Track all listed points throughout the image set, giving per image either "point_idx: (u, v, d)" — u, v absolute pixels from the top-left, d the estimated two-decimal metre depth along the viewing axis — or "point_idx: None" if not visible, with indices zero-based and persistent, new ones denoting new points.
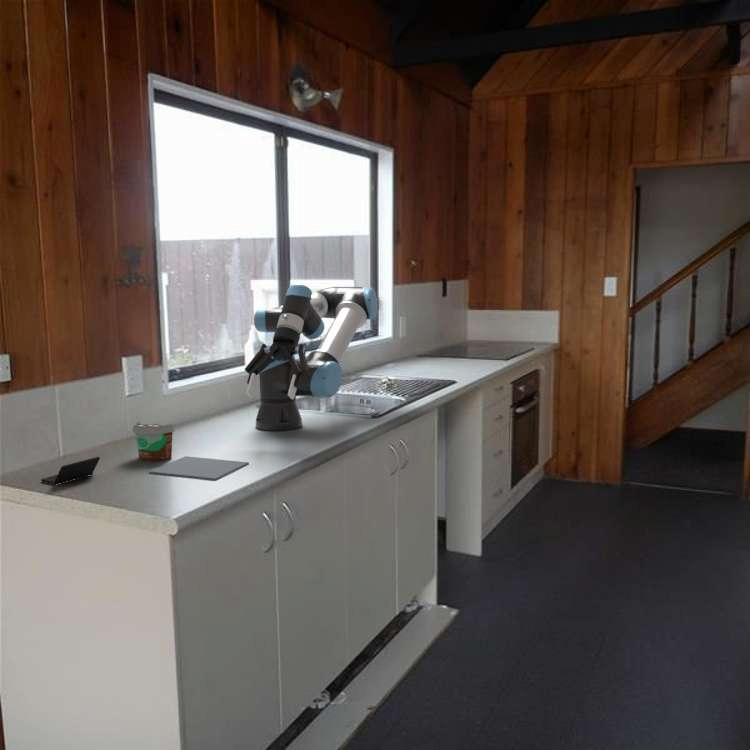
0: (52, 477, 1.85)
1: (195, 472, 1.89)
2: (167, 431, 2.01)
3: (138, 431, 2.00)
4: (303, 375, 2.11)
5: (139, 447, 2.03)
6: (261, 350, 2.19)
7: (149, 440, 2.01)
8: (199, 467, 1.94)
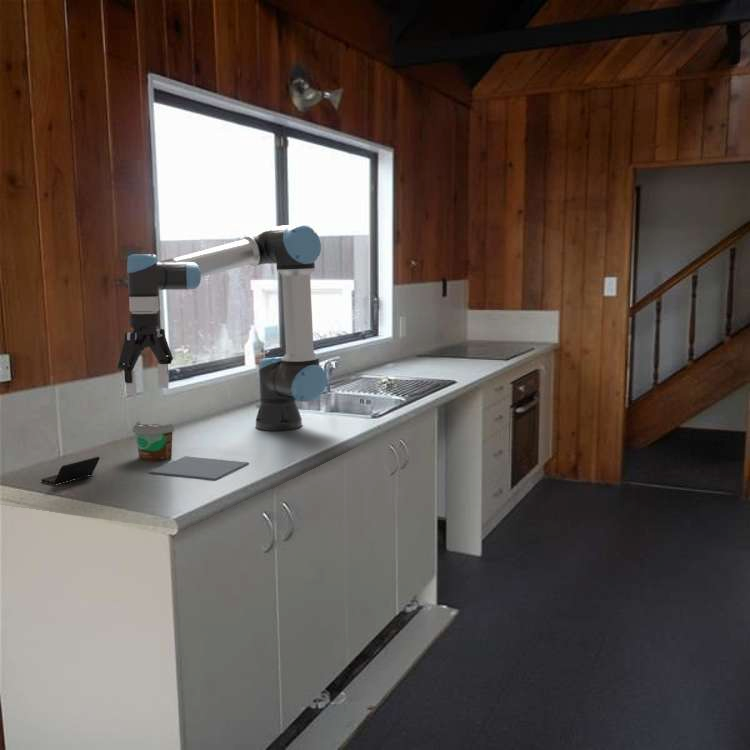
0: (52, 477, 1.85)
1: (195, 472, 1.89)
2: (167, 431, 2.01)
3: (138, 431, 2.00)
4: (124, 369, 1.92)
5: (139, 447, 2.03)
6: None
7: (149, 440, 2.01)
8: (199, 467, 1.94)
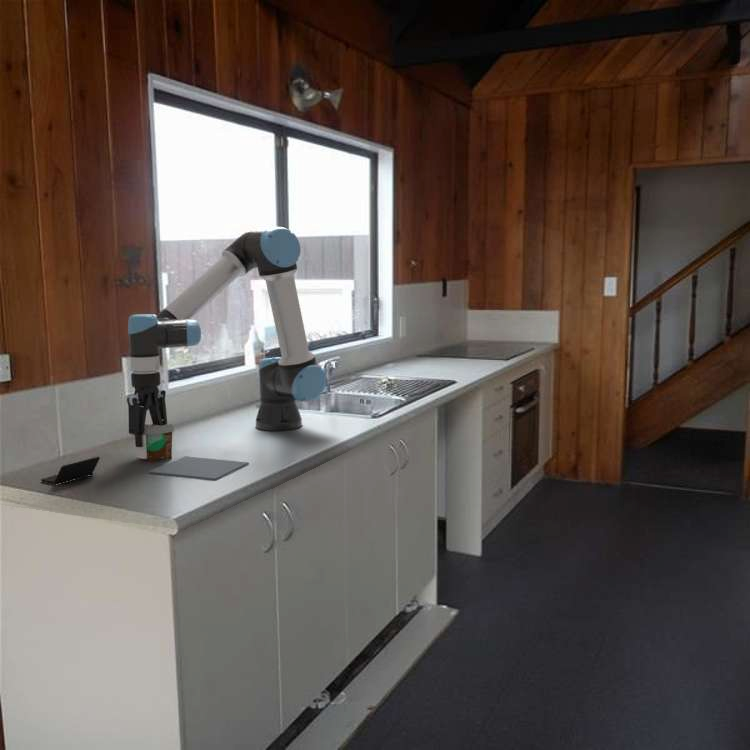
0: (52, 477, 1.85)
1: (195, 472, 1.89)
2: (167, 431, 2.01)
3: None
4: (135, 434, 1.98)
5: None
6: None
7: (149, 440, 2.00)
8: (199, 467, 1.94)
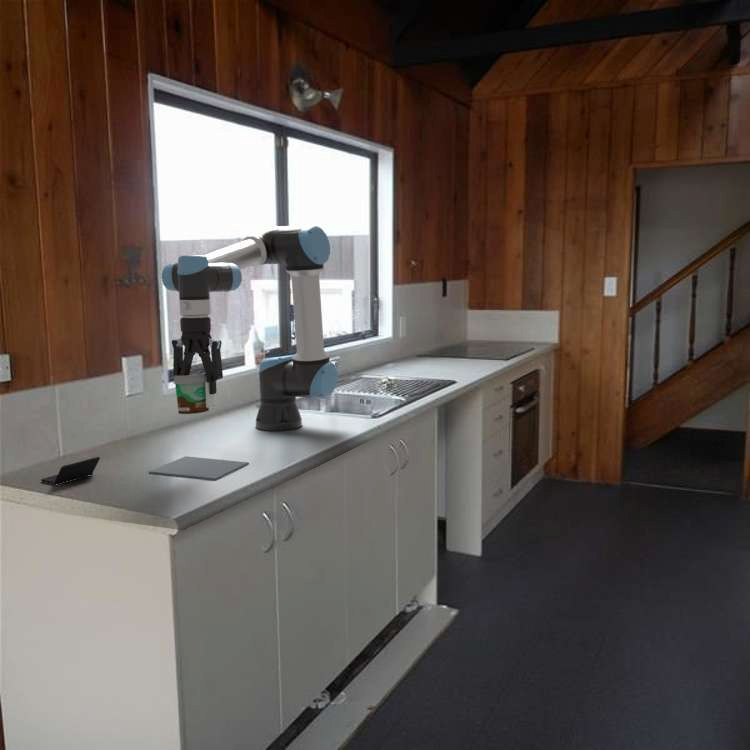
0: (52, 477, 1.85)
1: (195, 472, 1.89)
2: None
3: (204, 379, 1.89)
4: (216, 380, 1.89)
5: (199, 398, 1.89)
6: (175, 348, 1.91)
7: None
8: (199, 467, 1.94)
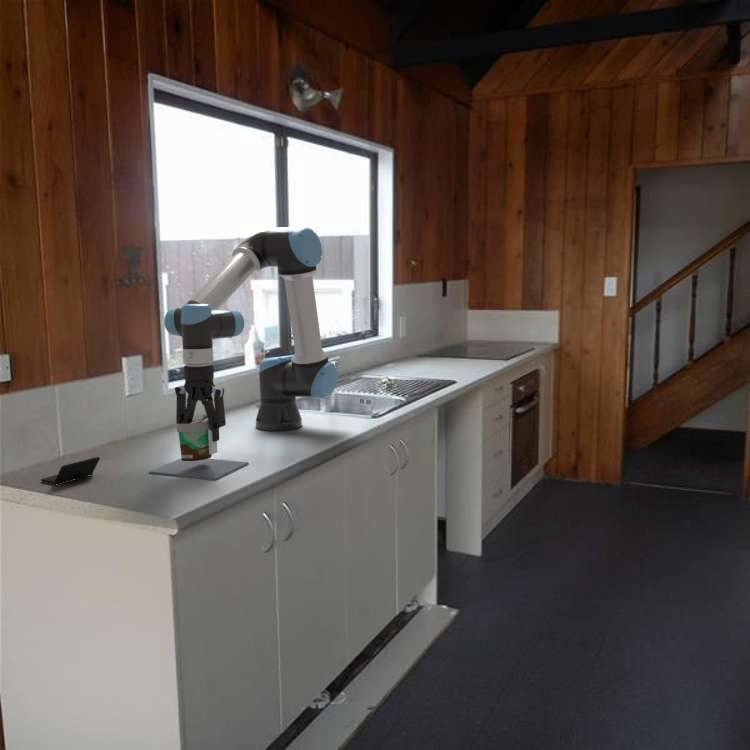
0: (52, 477, 1.85)
1: (195, 472, 1.89)
2: None
3: (207, 427, 1.91)
4: (219, 427, 1.91)
5: (202, 445, 1.91)
6: (178, 395, 1.92)
7: None
8: (199, 467, 1.94)
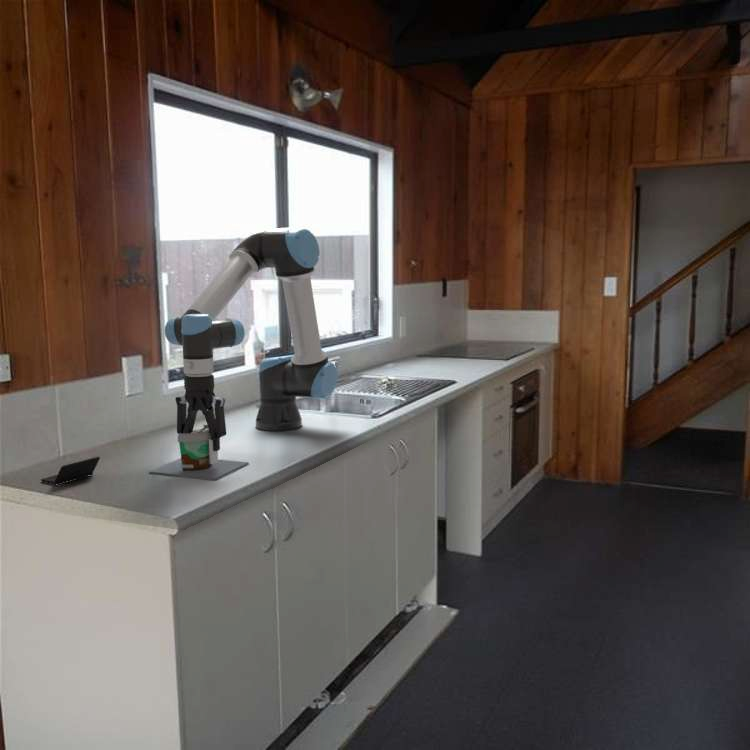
0: (52, 477, 1.85)
1: (195, 472, 1.89)
2: None
3: (208, 436, 1.91)
4: None
5: (203, 455, 1.91)
6: (179, 405, 1.93)
7: None
8: None
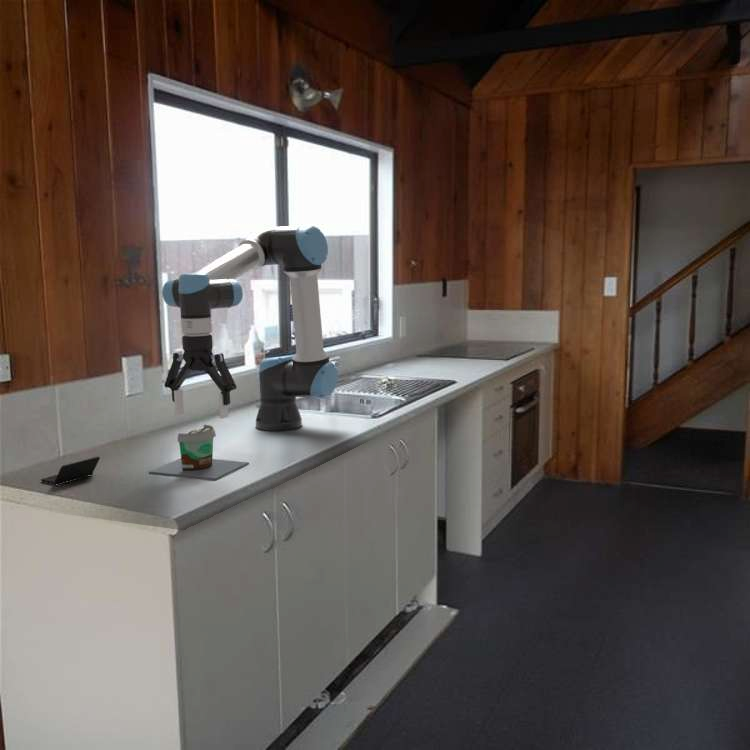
0: (52, 477, 1.85)
1: (195, 472, 1.89)
2: None
3: (208, 436, 1.91)
4: (230, 390, 1.88)
5: (203, 455, 1.91)
6: (174, 361, 1.91)
7: (212, 443, 1.94)
8: None
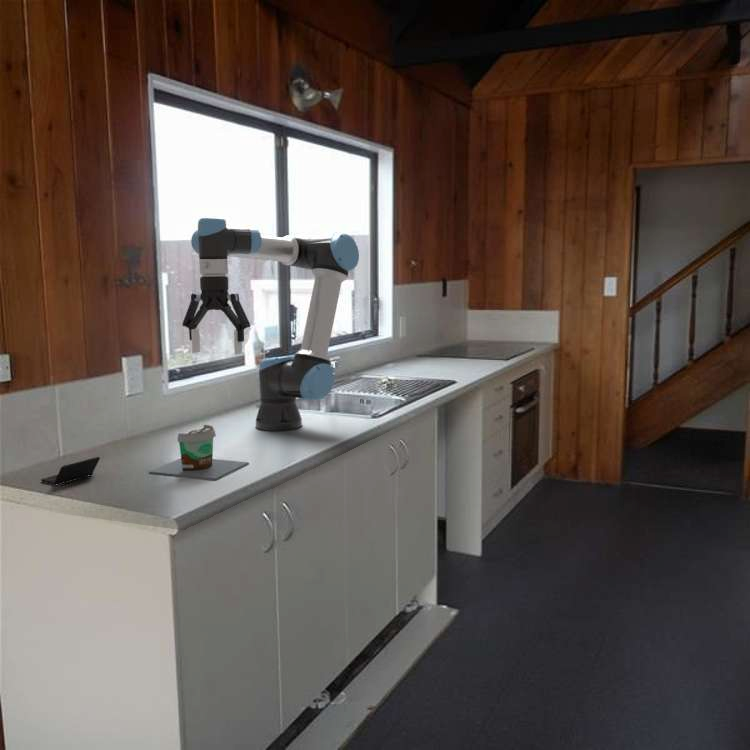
0: (52, 477, 1.85)
1: (195, 472, 1.89)
2: None
3: (208, 436, 1.91)
4: (244, 328, 2.01)
5: (203, 455, 1.91)
6: (192, 301, 2.04)
7: (212, 443, 1.94)
8: None
